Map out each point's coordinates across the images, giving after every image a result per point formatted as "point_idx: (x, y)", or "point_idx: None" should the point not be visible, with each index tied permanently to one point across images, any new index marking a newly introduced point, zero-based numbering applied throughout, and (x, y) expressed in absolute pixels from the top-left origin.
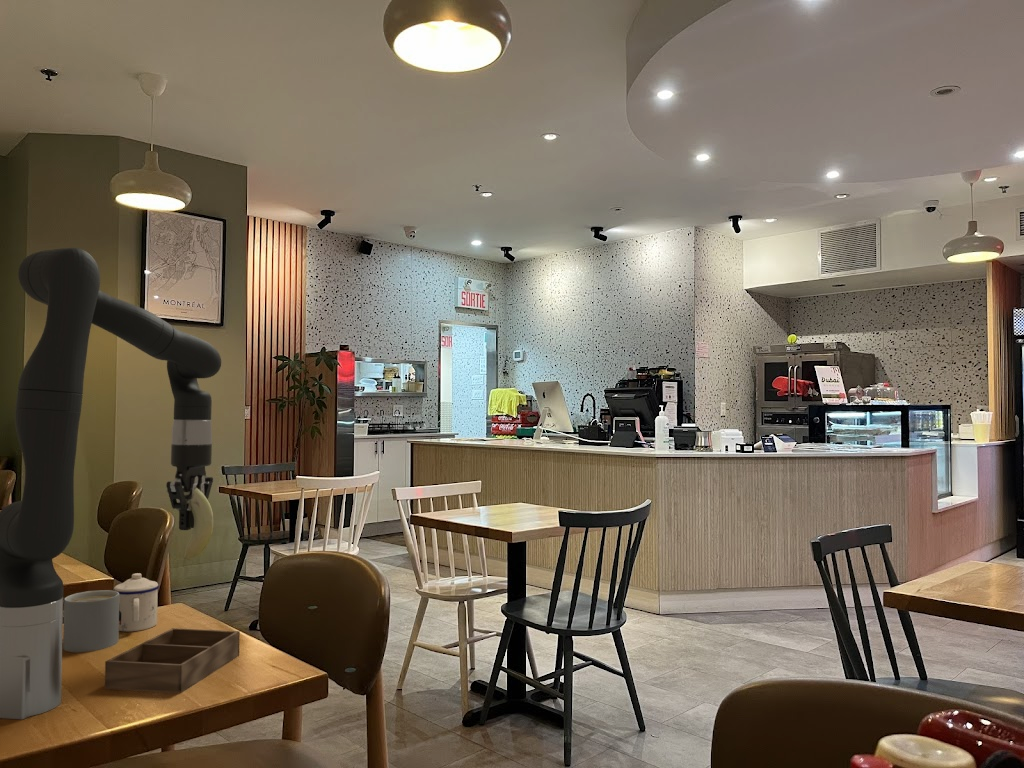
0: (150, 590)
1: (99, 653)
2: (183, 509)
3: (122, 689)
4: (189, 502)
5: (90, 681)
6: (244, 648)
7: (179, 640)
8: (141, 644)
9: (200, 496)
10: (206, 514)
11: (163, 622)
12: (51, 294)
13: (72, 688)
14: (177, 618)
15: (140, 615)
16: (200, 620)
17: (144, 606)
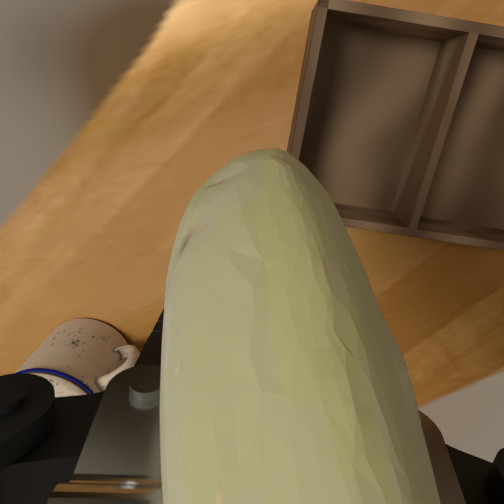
0: (65, 374)
1: None
2: (478, 460)
3: None
4: (452, 498)
5: (439, 284)
6: (237, 25)
7: None
8: (417, 232)
9: (407, 470)
10: (339, 221)
11: (52, 312)
12: None
13: (473, 297)
14: (16, 295)
15: (109, 351)
16: (19, 237)
17: (94, 358)
